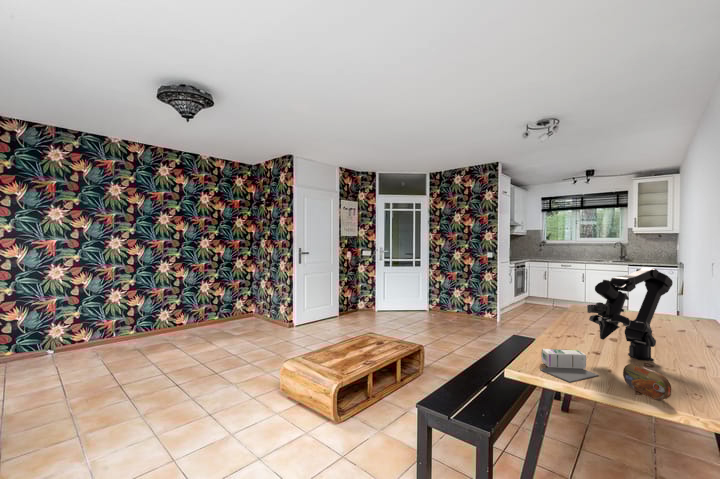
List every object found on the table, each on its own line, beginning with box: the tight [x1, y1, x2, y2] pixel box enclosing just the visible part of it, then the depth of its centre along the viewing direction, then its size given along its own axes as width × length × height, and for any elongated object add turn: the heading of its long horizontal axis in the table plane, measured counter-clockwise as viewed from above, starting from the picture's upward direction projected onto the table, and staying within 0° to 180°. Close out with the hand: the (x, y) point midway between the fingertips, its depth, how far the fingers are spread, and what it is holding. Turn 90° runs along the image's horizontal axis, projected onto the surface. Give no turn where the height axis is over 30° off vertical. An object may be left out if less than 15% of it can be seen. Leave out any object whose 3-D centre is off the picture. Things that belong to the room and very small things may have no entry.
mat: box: [539, 367, 600, 383], centre depth 126 cm, size 16×12×1 cm
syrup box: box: [541, 348, 587, 370], centre depth 132 cm, size 6×6×14 cm
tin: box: [622, 363, 672, 401], centre depth 110 cm, size 15×3×8 cm, turn 5°
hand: (601, 339), depth 134 cm, fingers closed
